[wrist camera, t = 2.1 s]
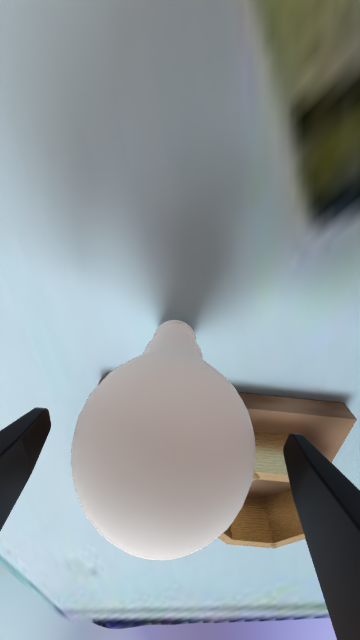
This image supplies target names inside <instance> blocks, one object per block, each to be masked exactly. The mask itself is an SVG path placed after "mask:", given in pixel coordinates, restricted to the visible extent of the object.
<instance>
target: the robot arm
mask: <svg viewBox="0 0 360 640" xmlns="http://www.w3.org/2000/svg"><path fill="white" fill-rule="evenodd" d="M50 428H51V421H50V416H49V411H48V409H46V408H34V409H33V410H31V411H30V412H28V413H27V414H25V415H24V416H22V417H20V418H19V419H17V420H16V421H14V422H13V423H11V424H10V425H8V426H7V427H5V428H4V429H2V430H1V431H0V531H1V529H2V527H3V525H4V523H5V522H6V520H7V518H8V516H9V514H10V512H11V510H12V509H13V507H14V505H15V503H16V501H17V499H18V498H19V496H20V494H21V492H22V490H23V488H24V487H25V485H26V483H27V481H28V479H29V477H30V475H31V473H32V471H33V469H34V467H35V464H36V462H37V460H38V457H39V455H40V452H41V450H42V448H43V445H44V443H45V441H46V438H47V436H48V434H49V431H50ZM283 454H284V459H285V464H286V468H287V473H288V478H289V482H290V487H291V492H292V496H293V500H294V503H295V507H296V510H297V513H298V516H299V520H300V523H301V526H302V529H303V532H304V535H305V539H306V542H307V545H308V548H309V551H310V555H311V558H312V561H313V564H314V567H315V571H316V574H317V577H318V580H319V583H320V587H321V590H322V593H323V596H324V599H325V603H326V606H327V609H328V612H329V615H330V618H331V622H332V625H333V628H334V631H335V634H336V637H337V640H360V490H359V489H358V488H357V487H356V486H355V485H354V484H353V483H351V482H350V481H349V480H348V479H347V478H346V477H345V476H344V475H343V474H342V473H341V472H340V471H339V470H338V469H337V468H336V467H335V466H334V465H333V464H332V463H331V462H330V461H329V460H328V459H327V458H326V457H325V456H324V455H323V454H322V453H321V452H320V451H319V450H318V449H317V448H316V447H315V446H314V445H313V444H312V443H311V442H310V441H309V440H308V439H307V438H306V437H305V436H303V435H302V434H299V433H290V434H289V435H288V438H287V440H286V442H285V445H284V447H283Z"/></svg>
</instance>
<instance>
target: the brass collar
mask: <svg viewBox="0 0 360 640" xmlns="http://www.w3.org/2000/svg"><path fill="white" fill-rule="evenodd" d="M288 435H289V434H281V433H271V432H260V431H254V436H255V451H256V453H255V464H254V473H253V481H254V480H256V479H259V480H270V481H281V482H289V478H288V473H287V468H286V464H285V459H284V454H283V447H284V445H285V442H286V440H287V438H288ZM218 538H219V539H221V540H222V541H223V542H225V543H226V544H232V545H243V546H254V547H266V548H277V547H280V546H283V545H287V544H290V543H293V542H296V541H299V540H303V539H305V535H304V532H303V529H302V526H301V523H300V520H299V516H298V513H297V510H296V507H295V503H294V500H293V496H292V492H291V489H288V490H286V491H283V492H281V493H278V494H276V495H273V496H270V497H268V498H265V499H263V500H261V499H250V498H246V499H245V501H244V504H243V506H242V508H241V510H240V511H239V513H238V514H237V516H236V518H235V519H234V521H233V522H232V524H231V525H230V526H229V527H228V529H227V530H226V531H225V532H223V533H222V534H221V535H220V536H219V537H218Z"/></svg>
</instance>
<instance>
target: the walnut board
mask: <svg viewBox="0 0 360 640" xmlns="http://www.w3.org/2000/svg"><path fill="white" fill-rule="evenodd" d="M103 380H104V379H101V380H100V382H99V384H100V383H101V382H102V381H103ZM99 384H98V385H99ZM238 394H239V395H240V397H241V399H242V400H243V402H244V404H245V406H246V408H247V410H248V412H249V416H250V419H251V423H252V427H253V431H260V432H271V433H281V434H290V433H299V434H302V435H303V436H305V437H306V438H307V439H308V440H309V441H310V442H311V443H312V444H313V445H314V446H315V447H316V448H317V449H318V450H319V451H320V452H321V453H322V454H323V455H324V456H325V457H326V458H327V459H328V460H329V461H330V462H332V461H333V459H334V457H335V456H336V454H337V452H338V451H339V449H340V447H341V445H342V444H343V442H344V440H345V439H346V437H347V435H348V434H349V432H350V430H351V428H352V427H353V425H354V423H355V422H356V420H357V419H356V418H355V416H354V415H353V414H352V413H351V411H350V410H349V409H348V408H347V406H346V405H345V404H344V403H338V402H328V401H318V400H308V399H298V398H288V397H278V396H268V395H258V394H248V393H238ZM288 489H291V487H290V482H281V481H270V480H259V479H256V480H254V481H252V484H251V486H250V489H249V491H248V494H247V496H246V498H250V499H261V500H263V499H265V498H268V497H270V496H273V495H276V494H278V493H281V492H283V491H286V490H288Z"/></svg>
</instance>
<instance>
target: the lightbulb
mask: <svg viewBox="0 0 360 640" xmlns="http://www.w3.org/2000/svg"><path fill="white" fill-rule="evenodd" d="M255 453H256V451H255V436H254V431H253V427H252V423H251V419H250V416H249V412H248V410H247V408H246V406H245V404H244V402H243V400H242V399H241V397H240V395H239V394H238V392H237V391H236V389H235V387H234V386H233V385H232V384H231V383H230V382H229V380H228V379H227V378H226V377H225V376H224V375H222V374H221V373H220V372H219V371H217V370H216V369H215V368H214V367H212V366H211V365H210V364H208V363H207V362H206V361H204V360H203V358H202V353H201V350H200V348H199V346H198V344H197V343H196V337H195V334H194V331H193V329H192V328H191V327H190V326H189V325H188V324H187V323H185V322H183V321H180V320H169V321H166V322H164V323H162V324H161V325H160V326H159V327H158V328H157V330H156V332H155V334H154V337H153V339H152V340H151V341H150V342H149V343H148V345H147V346H146V348H145V351H144V353H143V354H142V355H141V356H138V357H136V358H133V359H132V360H130V361H128V362H126V363H124V364H122V365H120V366H119V367H118V368H116V369H115V370H113V371H112V372H110V373H109V374H108V375H107V376H106V377H105V378H104V380H103V381H102V382H101V383H100V384H99V385H98V386H97V387H96V388H95V389H94V390H93V392H92V393H91V394H90V396H89V397H88V399H87V401H86V403H85V405H84V407H83V409H82V411H81V413H80V415H79V417H78V420H77V424H76V428H75V432H74V436H73V441H72V449H71V469H72V476H73V481H74V487H75V491H76V494H77V496H78V499H79V501H80V504H81V506H82V508H83V511H84V513H85V515H86V517H87V518H88V519H89V521H90V522H91V523H92V524H93V525H94V527H95V528H96V529H97V530H98V531H99V533H100V534H101V535H102V536H103V537H104V538H105V539H107V540H108V541H109V542H110V543H112V544H113V545H115V546H117V547H118V548H120V549H121V550H123V551H124V552H126V553H128V554H131V555H133V556H136V557H140V558H145V559H151V560H170V559H176V558H181V557H184V556H187V555H189V554H191V553H193V552H196V551H198V550H200V549H202V548H204V547H206V546H207V545H209V544H210V543H211V542H213V541H214V540H215V539H216V538H217V537H219V536H220V535H221V534H222V533H223V532H225V531H226V530H227V529H228V527H229V526H230V525H231V524H232V522H233V521H234V519H235V518H236V516H237V514H238V513H239V511H240V510H241V508H242V506H243V504H244V501H245V499H246V496H247V494H248V491H249V489H250V486H251V484H252V481H253V473H254V464H255Z"/></svg>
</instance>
